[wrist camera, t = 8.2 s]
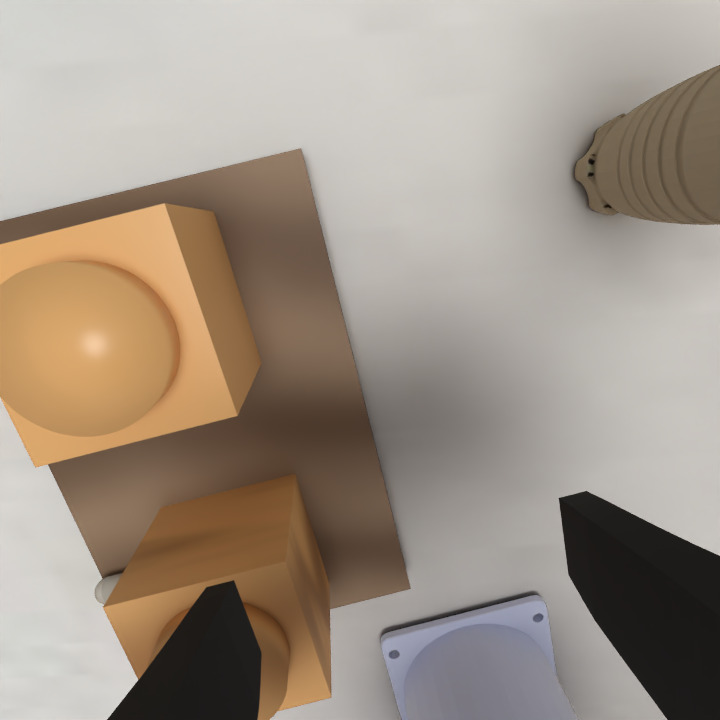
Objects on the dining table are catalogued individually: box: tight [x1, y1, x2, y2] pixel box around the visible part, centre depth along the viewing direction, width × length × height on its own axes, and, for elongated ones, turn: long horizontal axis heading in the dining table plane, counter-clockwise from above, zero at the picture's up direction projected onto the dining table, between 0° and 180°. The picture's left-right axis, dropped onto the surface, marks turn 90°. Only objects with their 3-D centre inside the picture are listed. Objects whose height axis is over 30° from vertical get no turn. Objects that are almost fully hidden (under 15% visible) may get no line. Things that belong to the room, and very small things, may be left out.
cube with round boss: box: [0, 203, 262, 467], centre depth 13 cm, size 5×5×6 cm
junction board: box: [0, 149, 411, 720], centre depth 15 cm, size 18×12×7 cm
